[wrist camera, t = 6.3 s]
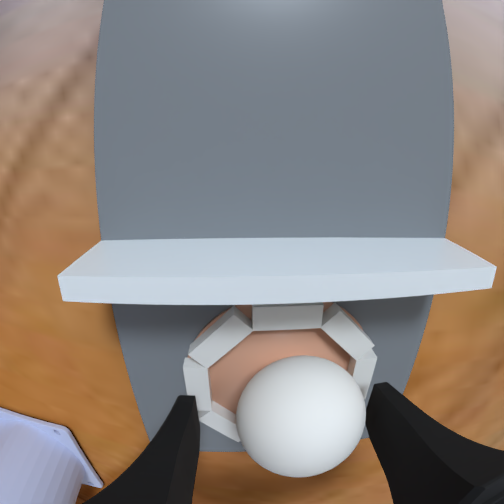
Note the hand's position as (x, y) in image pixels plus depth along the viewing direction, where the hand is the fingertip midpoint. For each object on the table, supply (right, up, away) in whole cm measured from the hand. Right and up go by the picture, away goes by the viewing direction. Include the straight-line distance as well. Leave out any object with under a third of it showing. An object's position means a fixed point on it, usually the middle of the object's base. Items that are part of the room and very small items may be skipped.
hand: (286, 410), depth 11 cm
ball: (0, 0, -1) cm, 1 cm away
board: (0, +7, +1) cm, 7 cm away
